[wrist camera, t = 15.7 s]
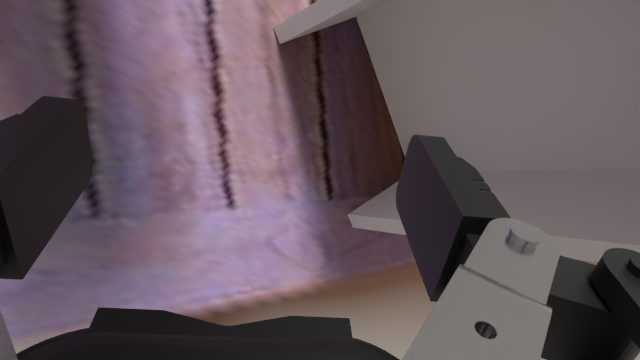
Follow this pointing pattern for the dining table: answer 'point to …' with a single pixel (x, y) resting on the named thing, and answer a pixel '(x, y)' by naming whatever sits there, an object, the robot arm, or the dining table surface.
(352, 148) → the dining table surface
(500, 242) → the robot arm
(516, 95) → the tall cream box
